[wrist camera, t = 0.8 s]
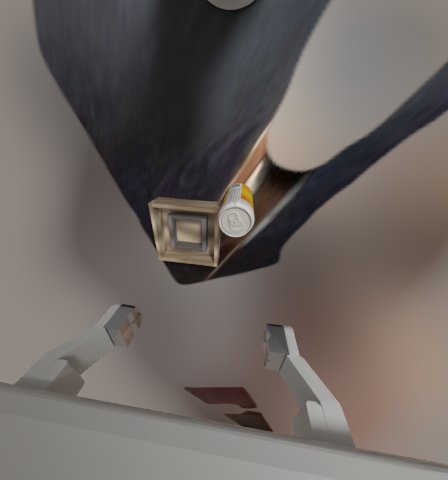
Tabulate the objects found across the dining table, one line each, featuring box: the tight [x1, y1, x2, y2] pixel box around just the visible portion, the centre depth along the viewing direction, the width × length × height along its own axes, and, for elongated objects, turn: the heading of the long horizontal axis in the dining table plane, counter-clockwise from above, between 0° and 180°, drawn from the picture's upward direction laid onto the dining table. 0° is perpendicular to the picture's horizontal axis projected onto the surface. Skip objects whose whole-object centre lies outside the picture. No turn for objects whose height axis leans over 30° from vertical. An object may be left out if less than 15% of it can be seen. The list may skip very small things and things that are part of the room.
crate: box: [148, 197, 222, 267], centre depth 43 cm, size 16×16×5 cm
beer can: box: [217, 183, 254, 237], centre depth 33 cm, size 6×6×15 cm
